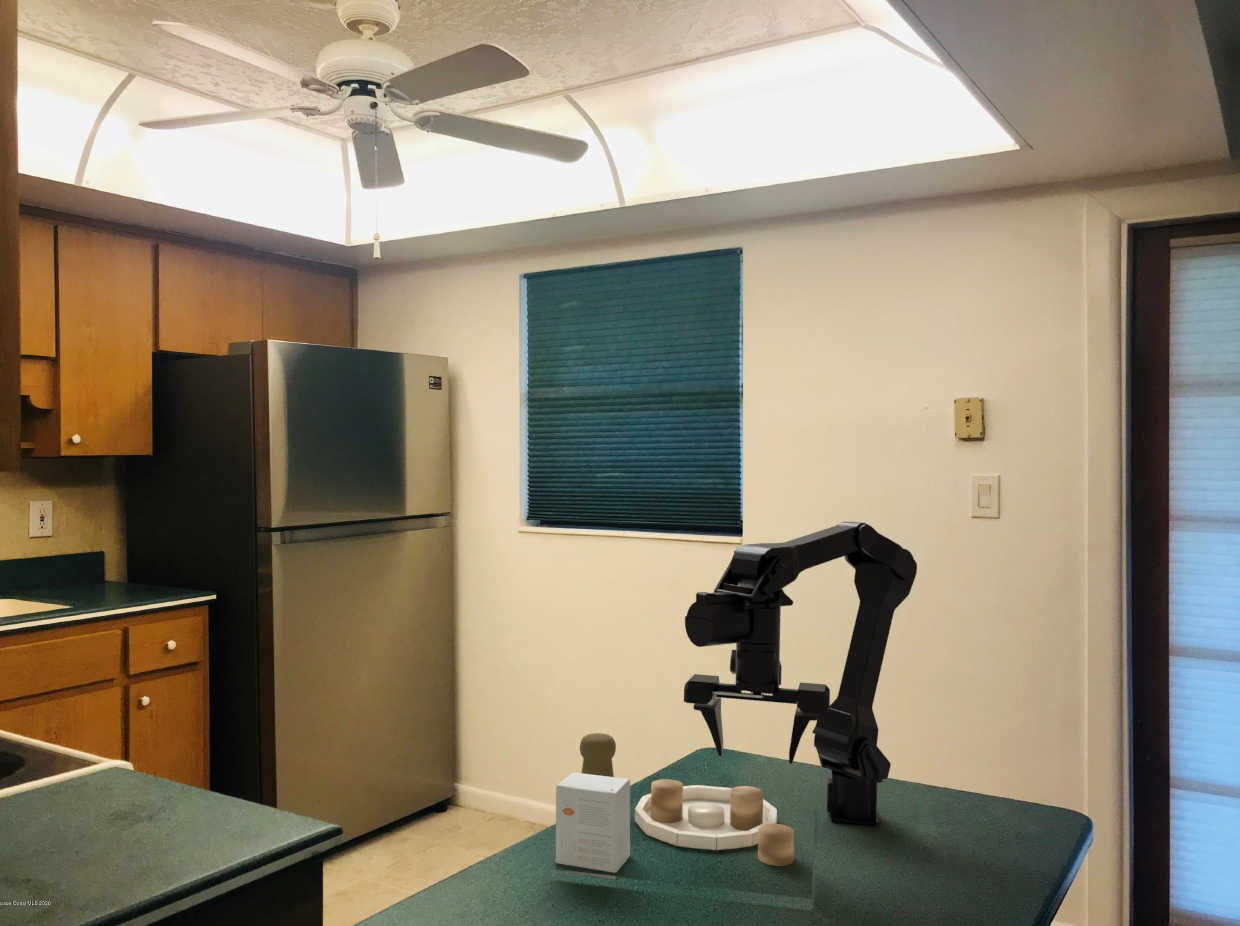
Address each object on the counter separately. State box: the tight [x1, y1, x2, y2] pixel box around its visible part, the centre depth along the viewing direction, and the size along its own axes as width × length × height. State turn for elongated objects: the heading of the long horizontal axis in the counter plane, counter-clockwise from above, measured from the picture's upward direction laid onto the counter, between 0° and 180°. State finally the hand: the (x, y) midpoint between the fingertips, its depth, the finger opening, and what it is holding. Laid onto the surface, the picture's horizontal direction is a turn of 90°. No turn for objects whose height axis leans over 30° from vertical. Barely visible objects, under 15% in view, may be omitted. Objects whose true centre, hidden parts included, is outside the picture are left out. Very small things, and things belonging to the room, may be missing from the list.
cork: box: [579, 732, 617, 777], centre depth 132 cm, size 6×6×11 cm
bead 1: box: [650, 778, 684, 823], centre depth 127 cm, size 4×4×4 cm
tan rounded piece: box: [730, 785, 764, 831], centre depth 125 cm, size 4×4×4 cm
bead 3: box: [757, 823, 795, 867], centre depth 114 cm, size 4×4×4 cm
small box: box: [555, 772, 631, 881], centre depth 113 cm, size 8×6×10 cm
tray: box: [634, 784, 778, 851], centre depth 126 cm, size 19×19×3 cm
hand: (755, 759), depth 121 cm, fingers open, 9 cm apart
